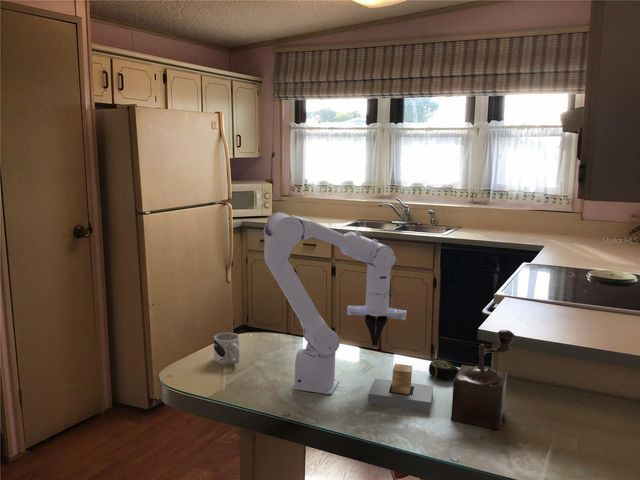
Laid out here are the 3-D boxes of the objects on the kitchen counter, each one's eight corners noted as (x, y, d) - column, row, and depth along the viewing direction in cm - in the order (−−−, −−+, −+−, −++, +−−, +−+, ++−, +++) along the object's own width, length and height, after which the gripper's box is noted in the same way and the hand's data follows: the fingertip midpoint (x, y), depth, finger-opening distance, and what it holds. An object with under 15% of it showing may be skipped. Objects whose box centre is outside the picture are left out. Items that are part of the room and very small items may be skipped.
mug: (209, 358, 150) (209, 335, 149) (231, 353, 154) (231, 331, 153) (226, 371, 142) (226, 346, 141) (249, 365, 146) (249, 341, 145)
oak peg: (390, 402, 127) (392, 370, 126) (393, 395, 131) (394, 363, 130) (408, 405, 126) (410, 372, 125) (410, 397, 130) (412, 365, 129)
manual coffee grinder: (502, 432, 115) (510, 350, 112) (449, 420, 119) (455, 341, 116) (509, 402, 129) (516, 329, 126) (461, 392, 133) (467, 321, 130)
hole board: (368, 403, 126) (368, 393, 126) (374, 387, 135) (374, 378, 134) (430, 412, 123) (430, 402, 122) (432, 395, 131) (433, 385, 131)
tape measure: (460, 381, 140) (461, 367, 140) (436, 384, 138) (437, 370, 138) (446, 371, 147) (447, 357, 146) (423, 373, 145) (424, 360, 144)
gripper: (346, 293, 133) (344, 347, 135) (406, 298, 130) (403, 353, 132) (350, 286, 140) (348, 337, 142) (407, 291, 137) (404, 343, 139)
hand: (375, 344), depth 138 cm, fingers closed
